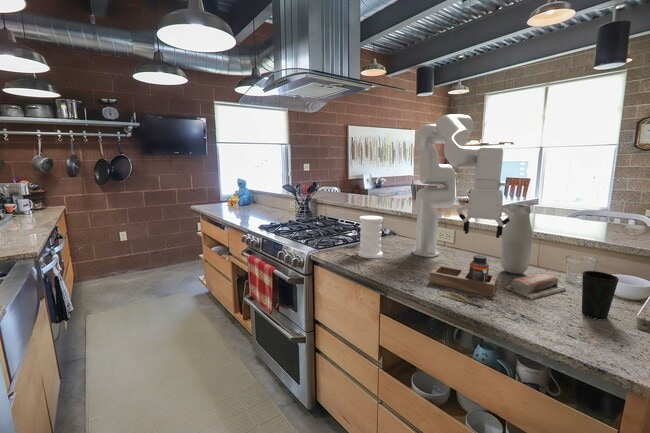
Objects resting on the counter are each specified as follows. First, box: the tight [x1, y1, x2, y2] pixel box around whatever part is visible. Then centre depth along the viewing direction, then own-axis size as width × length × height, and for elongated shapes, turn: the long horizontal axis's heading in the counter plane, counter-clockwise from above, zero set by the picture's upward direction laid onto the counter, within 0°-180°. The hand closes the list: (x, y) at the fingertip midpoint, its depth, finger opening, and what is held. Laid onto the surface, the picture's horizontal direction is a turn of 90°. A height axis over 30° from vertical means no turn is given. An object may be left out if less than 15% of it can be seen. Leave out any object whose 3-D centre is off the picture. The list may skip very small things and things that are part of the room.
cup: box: [581, 270, 620, 320], centre depth 90 cm, size 8×8×12 cm
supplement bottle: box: [468, 254, 490, 282], centre depth 110 cm, size 6×6×11 cm
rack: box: [428, 264, 498, 298], centre depth 113 cm, size 11×21×4 cm, turn 56°
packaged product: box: [504, 273, 567, 300], centre depth 109 cm, size 18×5×10 cm
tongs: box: [442, 291, 484, 309], centre depth 100 cm, size 4×13×2 cm, turn 41°
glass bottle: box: [500, 202, 534, 275], centre depth 123 cm, size 10×10×28 cm
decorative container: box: [357, 215, 384, 259], centre depth 148 cm, size 12×12×18 cm
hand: (481, 235), depth 108 cm, fingers open, 9 cm apart
